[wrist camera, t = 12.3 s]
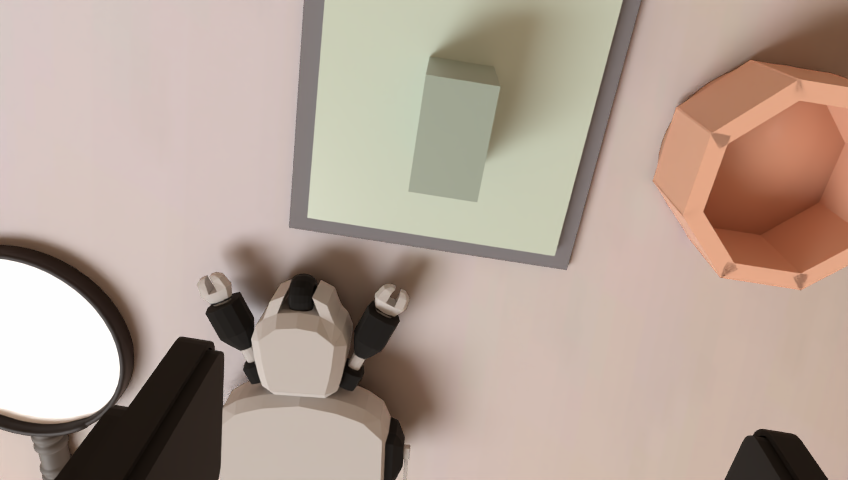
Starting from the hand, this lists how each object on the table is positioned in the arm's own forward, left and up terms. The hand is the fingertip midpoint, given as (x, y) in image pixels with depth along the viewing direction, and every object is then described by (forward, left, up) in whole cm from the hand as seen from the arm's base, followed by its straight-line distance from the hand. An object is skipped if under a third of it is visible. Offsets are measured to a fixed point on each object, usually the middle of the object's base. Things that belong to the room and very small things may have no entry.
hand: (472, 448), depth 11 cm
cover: (+1, -1, -22) cm, 22 cm away
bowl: (-14, -1, -22) cm, 27 cm away
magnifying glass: (+23, +23, -23) cm, 39 cm away
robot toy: (+6, +16, -23) cm, 29 cm away
